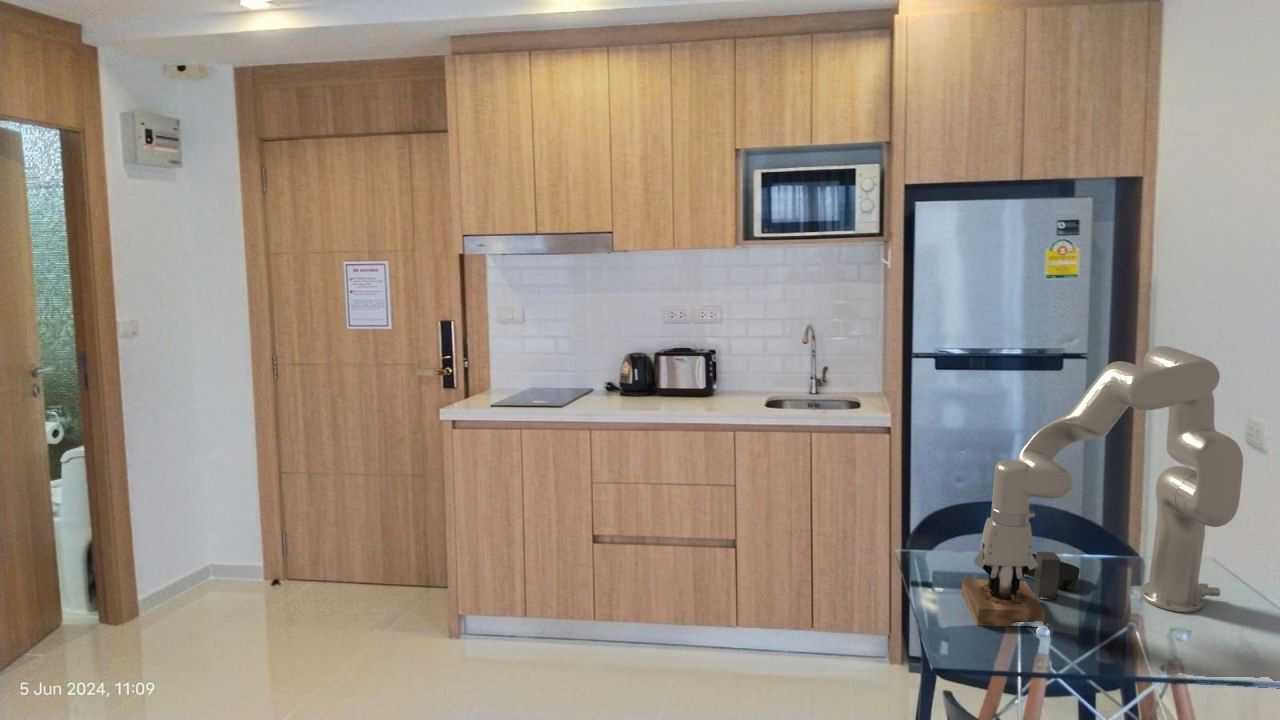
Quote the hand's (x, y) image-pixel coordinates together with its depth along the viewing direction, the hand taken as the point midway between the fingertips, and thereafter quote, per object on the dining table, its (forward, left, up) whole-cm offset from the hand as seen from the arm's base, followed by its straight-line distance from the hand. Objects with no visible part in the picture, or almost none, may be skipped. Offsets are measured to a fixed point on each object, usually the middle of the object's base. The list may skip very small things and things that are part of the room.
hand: (1003, 591), depth 201 cm
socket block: (0, 0, -5) cm, 5 cm away
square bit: (-12, -8, -5) cm, 15 cm away
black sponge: (-14, -18, -5) cm, 24 cm away
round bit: (0, 0, -3) cm, 3 cm away
